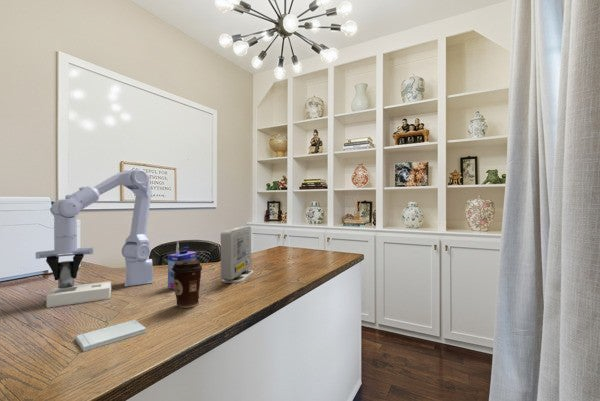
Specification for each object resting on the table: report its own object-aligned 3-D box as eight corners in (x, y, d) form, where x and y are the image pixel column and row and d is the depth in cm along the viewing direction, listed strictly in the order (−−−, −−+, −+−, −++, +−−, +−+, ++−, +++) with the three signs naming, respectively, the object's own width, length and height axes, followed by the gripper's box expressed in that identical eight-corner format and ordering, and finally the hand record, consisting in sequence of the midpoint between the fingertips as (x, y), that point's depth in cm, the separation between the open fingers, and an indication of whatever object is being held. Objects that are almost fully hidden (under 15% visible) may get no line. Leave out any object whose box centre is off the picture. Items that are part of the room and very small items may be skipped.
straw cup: (178, 290, 106) (178, 249, 106) (166, 288, 108) (166, 248, 108) (197, 283, 115) (197, 245, 115) (186, 281, 117) (186, 245, 117)
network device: (238, 269, 138) (238, 226, 138) (257, 269, 136) (256, 226, 136) (215, 284, 112) (214, 231, 112) (237, 285, 111) (237, 231, 111)
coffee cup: (173, 311, 85) (172, 266, 85) (170, 303, 92) (170, 261, 92) (204, 306, 89) (204, 262, 89) (200, 298, 96) (199, 258, 97)
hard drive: (134, 319, 77) (75, 334, 68) (146, 328, 72) (83, 346, 63) (134, 325, 77) (75, 341, 68) (146, 334, 72) (83, 354, 63)
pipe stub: (75, 284, 99) (75, 260, 99) (72, 287, 95) (72, 262, 96) (59, 286, 97) (59, 261, 97) (56, 289, 94) (56, 263, 94)
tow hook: (178, 264, 153) (168, 267, 144) (179, 239, 154) (168, 240, 145) (194, 264, 152) (184, 268, 143) (194, 239, 153) (184, 240, 144)
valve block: (111, 290, 106) (111, 281, 106) (109, 298, 98) (109, 287, 98) (53, 298, 99) (53, 288, 99) (46, 307, 90) (46, 296, 90)
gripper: (93, 233, 103) (94, 273, 103) (39, 236, 96) (39, 279, 96) (92, 235, 97) (92, 277, 97) (33, 239, 90) (34, 284, 90)
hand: (66, 278), depth 96 cm, fingers closed on pipe stub, 4 cm apart
